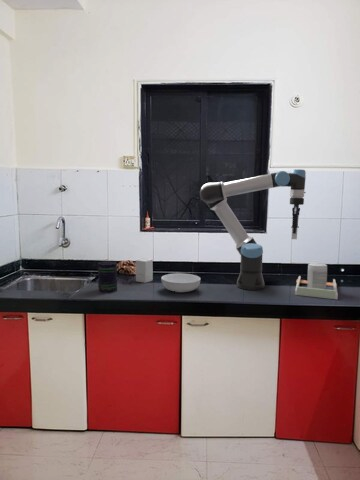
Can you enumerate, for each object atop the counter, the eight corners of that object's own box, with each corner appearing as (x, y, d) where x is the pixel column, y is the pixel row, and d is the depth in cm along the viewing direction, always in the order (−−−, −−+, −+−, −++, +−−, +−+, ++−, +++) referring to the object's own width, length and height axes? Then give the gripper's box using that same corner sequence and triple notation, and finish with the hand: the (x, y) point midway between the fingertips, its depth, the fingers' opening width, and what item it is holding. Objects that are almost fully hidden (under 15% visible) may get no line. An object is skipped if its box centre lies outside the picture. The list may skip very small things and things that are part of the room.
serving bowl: (175, 298, 173) (175, 284, 172) (154, 288, 191) (154, 276, 190) (208, 292, 185) (208, 279, 184) (185, 283, 202) (186, 271, 201)
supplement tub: (329, 292, 186) (331, 264, 184) (319, 295, 181) (320, 266, 179) (313, 288, 194) (315, 262, 192) (302, 290, 189) (304, 263, 187)
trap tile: (296, 282, 206) (296, 282, 206) (296, 280, 212) (296, 279, 212) (337, 286, 198) (337, 286, 198) (336, 283, 204) (336, 283, 204)
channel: (294, 294, 181) (295, 287, 180) (298, 280, 212) (298, 273, 212) (337, 299, 173) (337, 291, 173) (334, 283, 205) (335, 276, 204)
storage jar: (110, 287, 193) (110, 260, 191) (121, 290, 186) (120, 262, 184) (94, 290, 186) (94, 262, 184) (104, 294, 179) (104, 265, 177)
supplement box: (153, 280, 208) (153, 259, 206) (145, 283, 202) (145, 261, 200) (143, 278, 212) (143, 258, 210) (135, 281, 206) (135, 260, 204)
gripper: (303, 197, 191) (300, 240, 194) (304, 197, 203) (301, 238, 206) (288, 197, 194) (286, 239, 197) (291, 197, 205) (288, 237, 209)
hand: (294, 239), depth 201 cm, fingers closed
